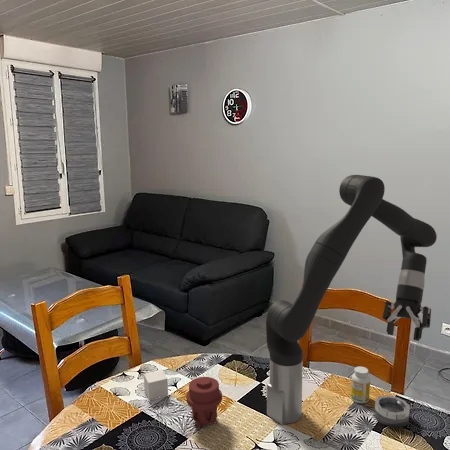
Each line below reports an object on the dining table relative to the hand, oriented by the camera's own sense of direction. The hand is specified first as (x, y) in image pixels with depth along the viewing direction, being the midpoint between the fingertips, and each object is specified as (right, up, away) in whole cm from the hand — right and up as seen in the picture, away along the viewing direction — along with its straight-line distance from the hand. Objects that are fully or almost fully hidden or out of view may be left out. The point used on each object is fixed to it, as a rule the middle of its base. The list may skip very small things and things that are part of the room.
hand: (402, 337), depth 130 cm
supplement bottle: (-14, -18, -1) cm, 23 cm away
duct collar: (-8, -20, -11) cm, 24 cm away
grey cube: (-77, -19, +3) cm, 79 cm away
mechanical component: (-61, -21, -11) cm, 65 cm away
